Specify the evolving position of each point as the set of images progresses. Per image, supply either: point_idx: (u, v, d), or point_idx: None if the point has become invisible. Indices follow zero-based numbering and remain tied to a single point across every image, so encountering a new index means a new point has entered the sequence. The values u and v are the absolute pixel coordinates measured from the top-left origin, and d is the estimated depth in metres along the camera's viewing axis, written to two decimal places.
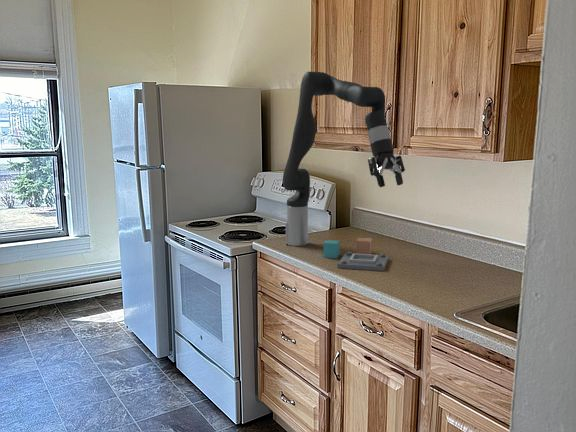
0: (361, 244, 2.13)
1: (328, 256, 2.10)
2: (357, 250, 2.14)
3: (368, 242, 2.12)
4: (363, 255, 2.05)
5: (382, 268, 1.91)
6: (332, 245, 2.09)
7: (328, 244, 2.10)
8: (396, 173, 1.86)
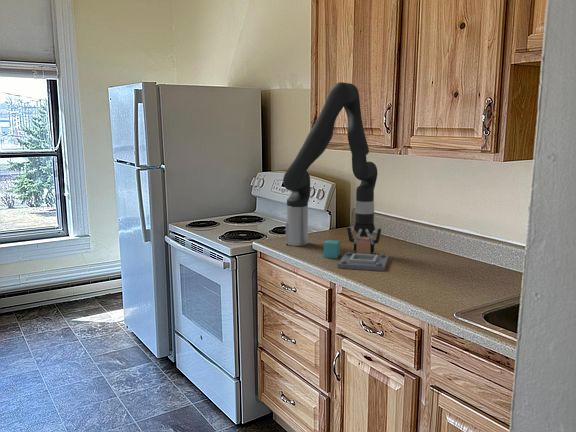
0: (361, 244, 2.13)
1: (328, 256, 2.10)
2: (357, 250, 2.14)
3: (368, 242, 2.12)
4: (363, 255, 2.05)
5: (382, 268, 1.91)
6: (332, 245, 2.09)
7: (328, 244, 2.10)
8: None
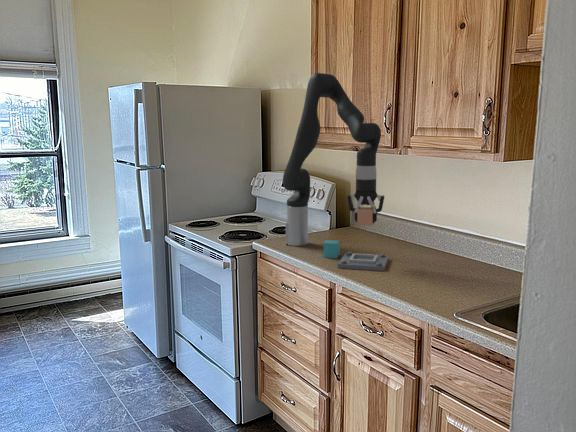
0: (362, 213, 1.96)
1: (328, 256, 2.10)
2: (358, 219, 1.97)
3: (370, 210, 1.95)
4: (363, 255, 2.05)
5: (382, 268, 1.91)
6: (332, 245, 2.09)
7: (328, 244, 2.10)
8: None
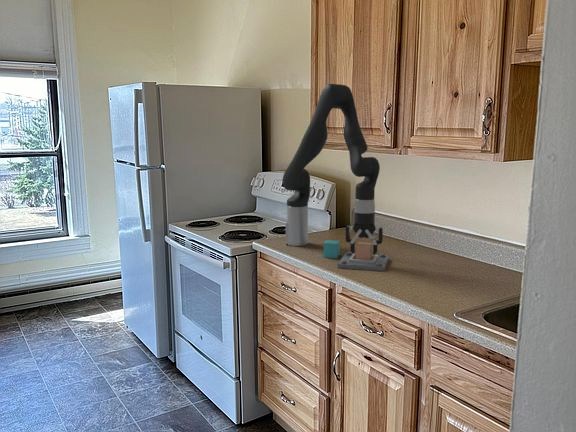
0: (360, 249, 1.98)
1: (328, 256, 2.10)
2: (356, 255, 1.99)
3: (368, 247, 1.97)
4: None
5: (382, 268, 1.91)
6: (332, 245, 2.09)
7: (328, 244, 2.10)
8: None
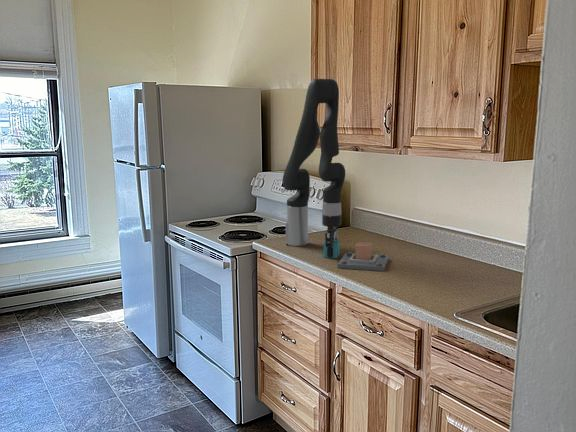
0: (360, 249, 1.98)
1: None
2: (356, 255, 1.99)
3: (368, 247, 1.97)
4: None
5: (382, 268, 1.91)
6: None
7: None
8: None
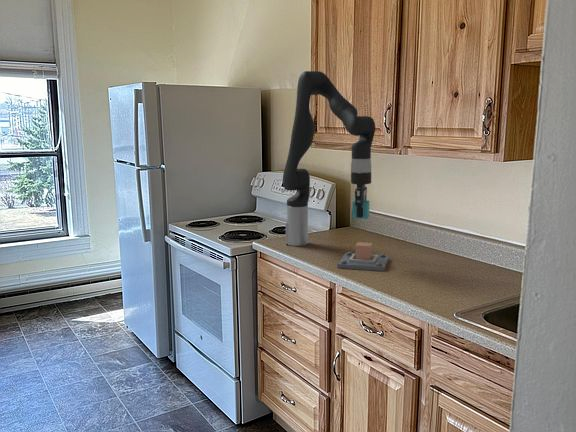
0: (360, 249, 1.98)
1: None
2: (356, 255, 1.99)
3: (368, 247, 1.97)
4: None
5: (382, 268, 1.91)
6: None
7: None
8: None
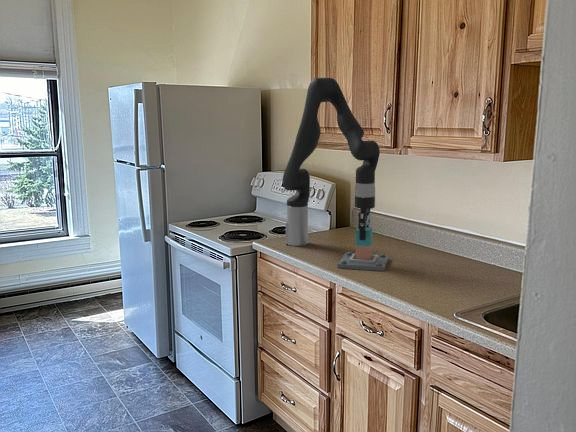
0: (360, 249, 1.98)
1: (361, 244, 1.98)
2: (356, 255, 1.99)
3: (368, 247, 1.97)
4: None
5: (382, 268, 1.91)
6: None
7: None
8: None
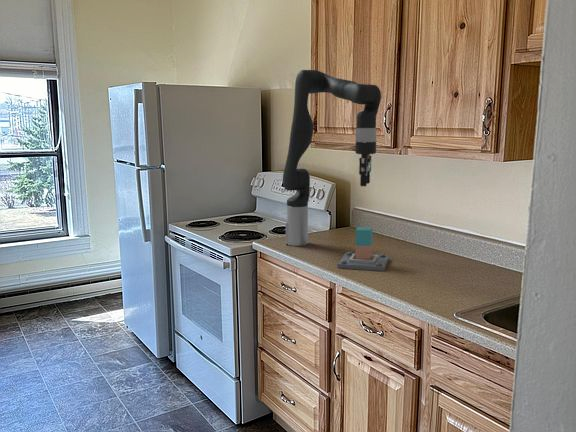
0: (360, 249, 1.98)
1: (361, 244, 1.98)
2: (356, 255, 1.99)
3: (368, 247, 1.97)
4: None
5: (382, 268, 1.91)
6: (365, 232, 1.97)
7: (361, 231, 1.97)
8: (366, 172, 1.99)
